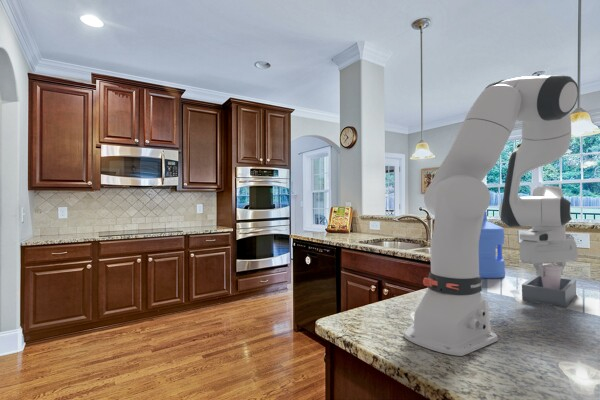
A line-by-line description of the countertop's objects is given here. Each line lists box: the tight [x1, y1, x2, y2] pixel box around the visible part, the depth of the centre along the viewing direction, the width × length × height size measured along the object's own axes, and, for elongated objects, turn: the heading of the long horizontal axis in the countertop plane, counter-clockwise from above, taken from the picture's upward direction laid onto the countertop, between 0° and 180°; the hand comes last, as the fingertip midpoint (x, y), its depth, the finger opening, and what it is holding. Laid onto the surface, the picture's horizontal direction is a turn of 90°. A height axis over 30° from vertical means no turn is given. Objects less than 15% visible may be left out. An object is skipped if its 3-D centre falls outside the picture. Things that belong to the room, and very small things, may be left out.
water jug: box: [479, 211, 506, 279], centre depth 138 cm, size 16×16×28 cm
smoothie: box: [542, 263, 564, 290], centre depth 105 cm, size 6×6×14 cm
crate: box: [521, 274, 577, 309], centre depth 105 cm, size 20×11×5 cm, turn 132°
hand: (549, 275), depth 105 cm, fingers closed on smoothie, 6 cm apart
